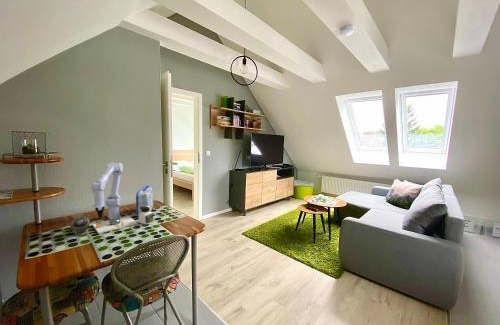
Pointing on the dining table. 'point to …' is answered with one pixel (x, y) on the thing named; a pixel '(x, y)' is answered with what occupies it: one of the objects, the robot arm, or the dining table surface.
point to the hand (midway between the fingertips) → (100, 217)
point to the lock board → (123, 223)
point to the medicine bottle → (145, 215)
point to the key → (108, 222)
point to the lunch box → (144, 199)
